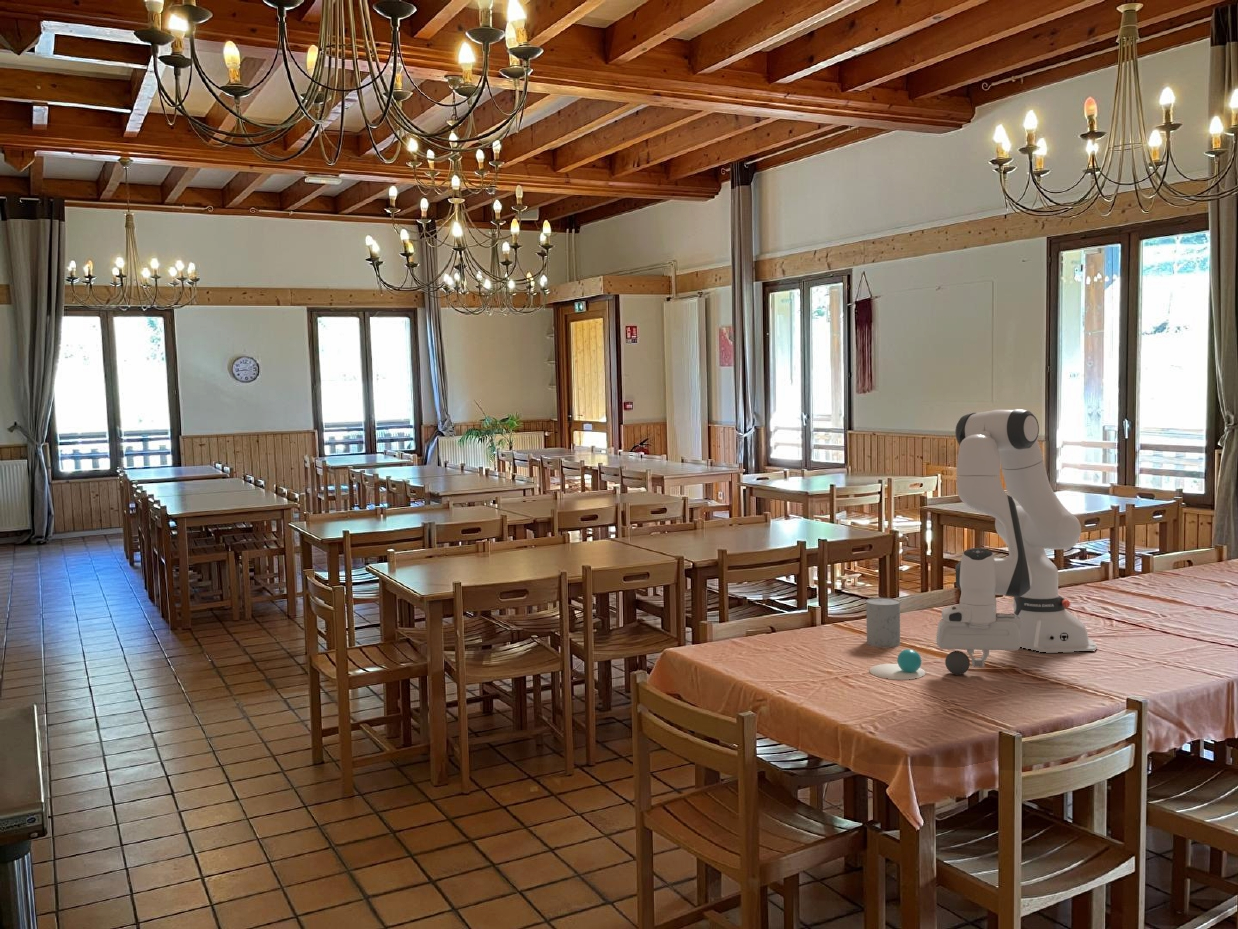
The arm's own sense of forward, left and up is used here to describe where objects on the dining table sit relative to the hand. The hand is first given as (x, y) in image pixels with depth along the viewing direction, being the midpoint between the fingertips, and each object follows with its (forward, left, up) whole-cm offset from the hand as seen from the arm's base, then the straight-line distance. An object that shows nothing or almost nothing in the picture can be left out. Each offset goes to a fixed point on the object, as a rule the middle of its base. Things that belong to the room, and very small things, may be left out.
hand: (978, 666), depth 256 cm
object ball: (+17, 0, +1) cm, 17 cm away
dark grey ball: (+5, 0, +1) cm, 5 cm away
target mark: (+20, 0, -2) cm, 20 cm away
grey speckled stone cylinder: (+22, -29, -2) cm, 36 cm away
